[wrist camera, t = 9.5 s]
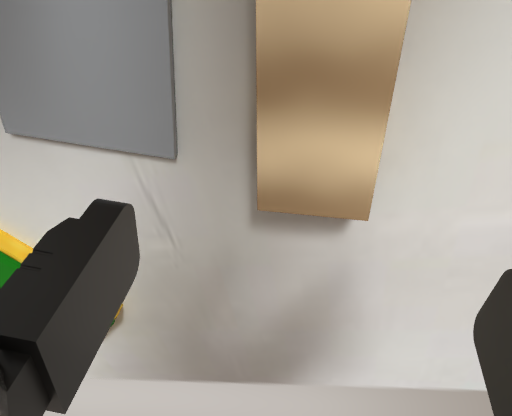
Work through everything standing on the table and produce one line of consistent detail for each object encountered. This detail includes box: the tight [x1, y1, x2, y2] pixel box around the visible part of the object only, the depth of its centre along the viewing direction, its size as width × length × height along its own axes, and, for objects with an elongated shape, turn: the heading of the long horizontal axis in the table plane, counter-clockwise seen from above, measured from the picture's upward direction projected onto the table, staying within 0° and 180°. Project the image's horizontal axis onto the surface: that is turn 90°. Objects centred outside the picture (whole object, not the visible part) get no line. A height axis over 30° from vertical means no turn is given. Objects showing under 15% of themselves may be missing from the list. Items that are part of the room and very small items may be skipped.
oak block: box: [256, 0, 411, 221], centre depth 19 cm, size 14×6×4 cm, turn 0°
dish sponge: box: [0, 229, 123, 327], centre depth 33 cm, size 7×14×2 cm, turn 51°
